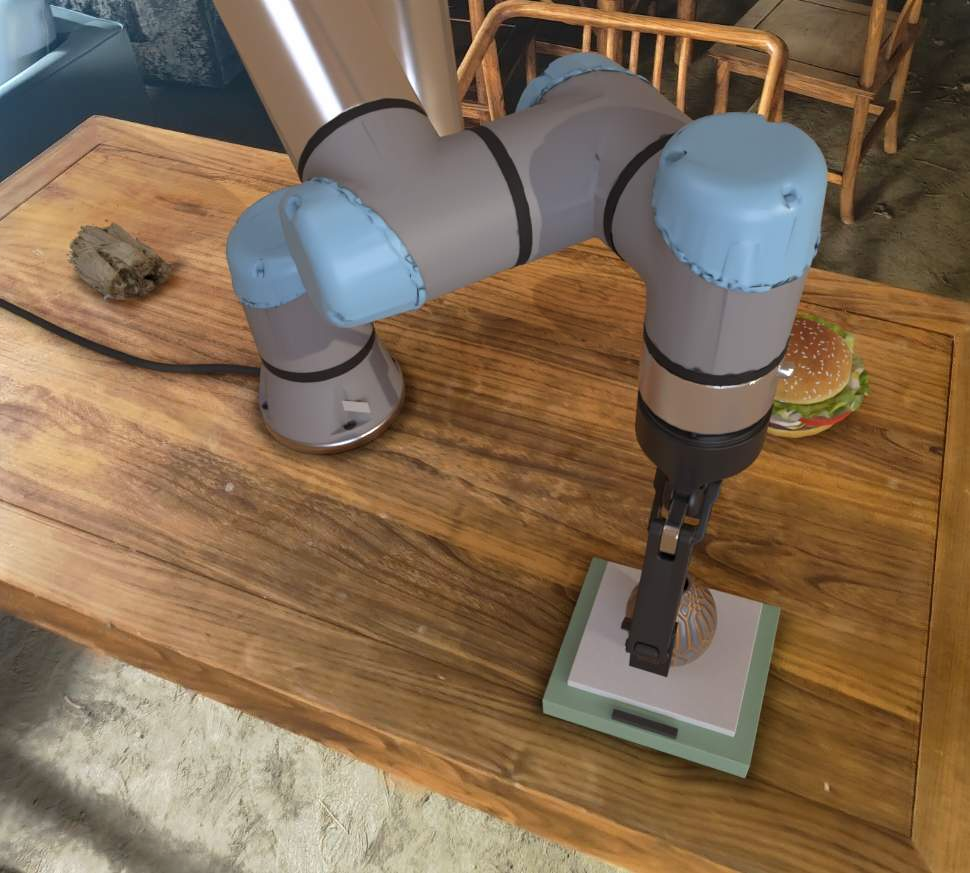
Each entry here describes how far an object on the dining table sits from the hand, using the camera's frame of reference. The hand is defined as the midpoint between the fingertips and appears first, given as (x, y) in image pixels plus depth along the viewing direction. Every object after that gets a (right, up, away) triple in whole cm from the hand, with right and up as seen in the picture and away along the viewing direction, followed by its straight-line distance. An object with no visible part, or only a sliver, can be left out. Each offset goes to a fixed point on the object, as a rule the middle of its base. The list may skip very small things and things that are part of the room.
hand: (672, 586), depth 68 cm
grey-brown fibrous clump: (-59, +31, +47) cm, 81 cm away
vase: (+1, -5, +6) cm, 8 cm away
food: (+17, +15, +26) cm, 34 cm away
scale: (+1, -8, +8) cm, 11 cm away
